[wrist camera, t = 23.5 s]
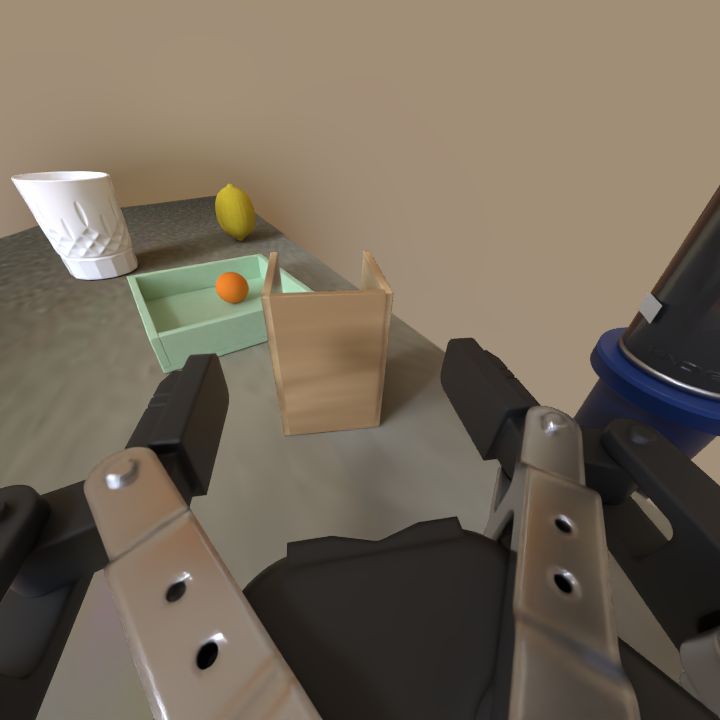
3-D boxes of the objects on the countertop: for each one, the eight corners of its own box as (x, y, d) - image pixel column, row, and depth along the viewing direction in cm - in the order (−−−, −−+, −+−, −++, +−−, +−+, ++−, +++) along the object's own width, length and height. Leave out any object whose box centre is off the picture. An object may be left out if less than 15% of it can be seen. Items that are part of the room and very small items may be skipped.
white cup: (151, 257, 42) (119, 171, 36) (132, 280, 36) (90, 180, 30) (83, 260, 40) (38, 170, 34) (51, 284, 34) (-11, 180, 28)
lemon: (215, 240, 49) (201, 182, 44) (246, 234, 52) (236, 180, 48) (234, 248, 46) (222, 187, 41) (266, 241, 50) (257, 184, 45)
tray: (264, 278, 37) (260, 253, 36) (320, 324, 29) (319, 294, 27) (139, 305, 31) (126, 276, 29) (164, 374, 23) (149, 339, 21)
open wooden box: (379, 426, 19) (393, 292, 14) (284, 436, 18) (260, 296, 13) (363, 367, 24) (369, 250, 19) (287, 372, 23) (270, 251, 18)
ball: (231, 296, 33) (208, 301, 30) (231, 267, 31) (207, 270, 29) (254, 303, 32) (233, 309, 29) (255, 274, 30) (233, 277, 28)
